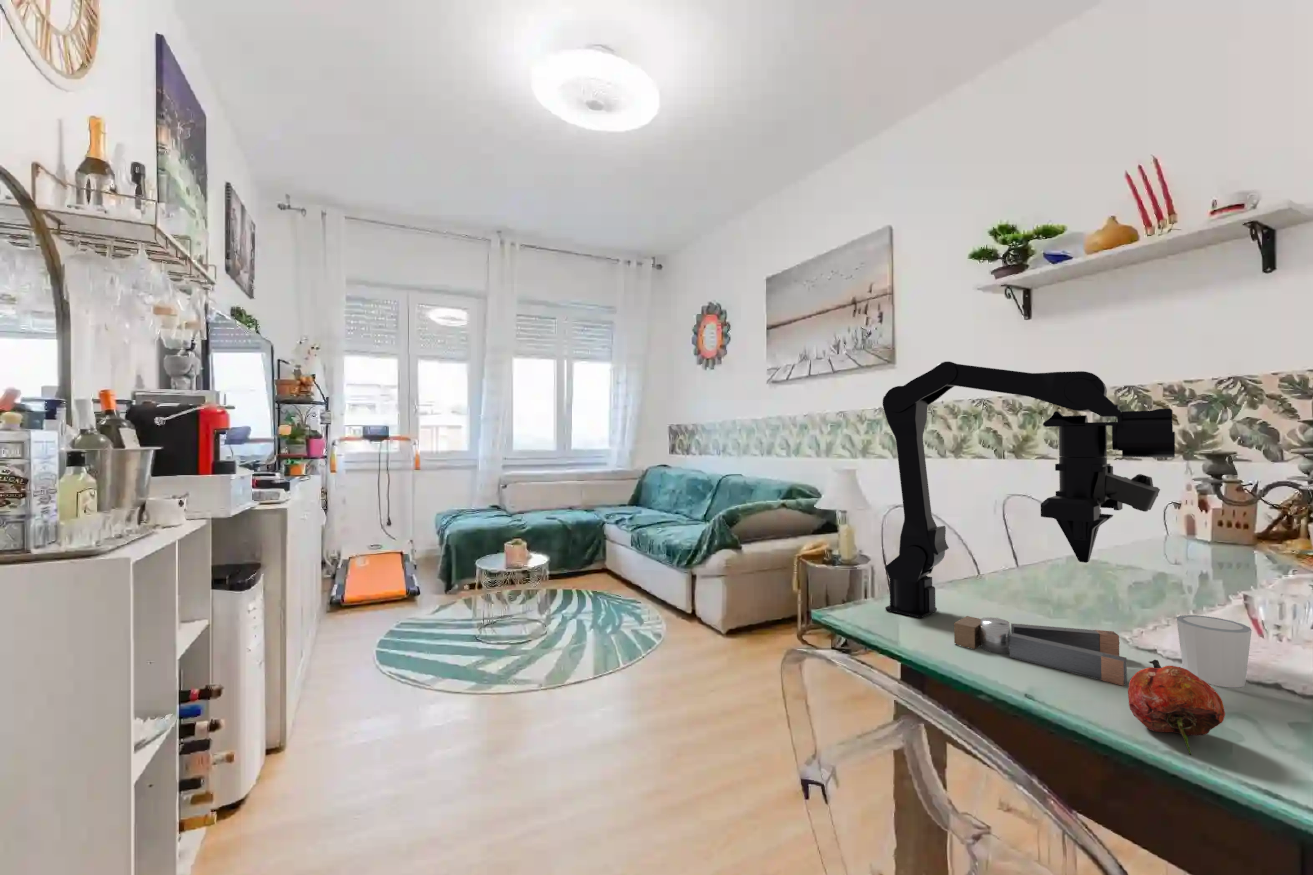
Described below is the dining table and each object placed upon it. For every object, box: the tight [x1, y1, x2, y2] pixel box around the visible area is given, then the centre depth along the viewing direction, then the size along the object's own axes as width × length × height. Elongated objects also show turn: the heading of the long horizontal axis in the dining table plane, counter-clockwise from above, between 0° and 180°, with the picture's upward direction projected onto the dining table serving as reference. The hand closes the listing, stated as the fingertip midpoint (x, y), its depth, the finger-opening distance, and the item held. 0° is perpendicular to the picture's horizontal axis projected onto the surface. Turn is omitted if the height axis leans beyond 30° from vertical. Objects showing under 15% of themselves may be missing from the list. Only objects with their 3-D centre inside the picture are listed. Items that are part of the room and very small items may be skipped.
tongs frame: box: [953, 615, 1128, 687], centre depth 79 cm, size 20×5×4 cm, turn 41°
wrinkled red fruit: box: [1127, 659, 1226, 756], centre depth 59 cm, size 7×7×10 cm
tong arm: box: [1010, 623, 1120, 656], centre depth 81 cm, size 12×2×3 cm, turn 71°
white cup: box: [1176, 614, 1253, 689], centre depth 73 cm, size 7×7×7 cm
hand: (1083, 561), depth 85 cm, fingers closed
